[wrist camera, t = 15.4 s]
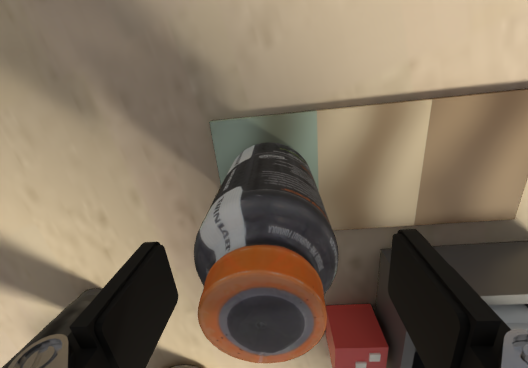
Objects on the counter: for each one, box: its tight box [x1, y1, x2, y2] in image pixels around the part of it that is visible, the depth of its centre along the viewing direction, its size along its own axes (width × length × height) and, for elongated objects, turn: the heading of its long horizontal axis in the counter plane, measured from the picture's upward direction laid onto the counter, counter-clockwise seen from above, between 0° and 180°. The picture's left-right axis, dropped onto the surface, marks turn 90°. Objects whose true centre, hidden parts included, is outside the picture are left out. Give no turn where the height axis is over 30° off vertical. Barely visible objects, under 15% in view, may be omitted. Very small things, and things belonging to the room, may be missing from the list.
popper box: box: [326, 241, 528, 368], centre depth 20 cm, size 16×12×5 cm
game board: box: [209, 89, 528, 230], centre depth 17 cm, size 21×9×1 cm, turn 96°
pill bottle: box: [194, 142, 338, 363], centre depth 13 cm, size 6×6×11 cm
